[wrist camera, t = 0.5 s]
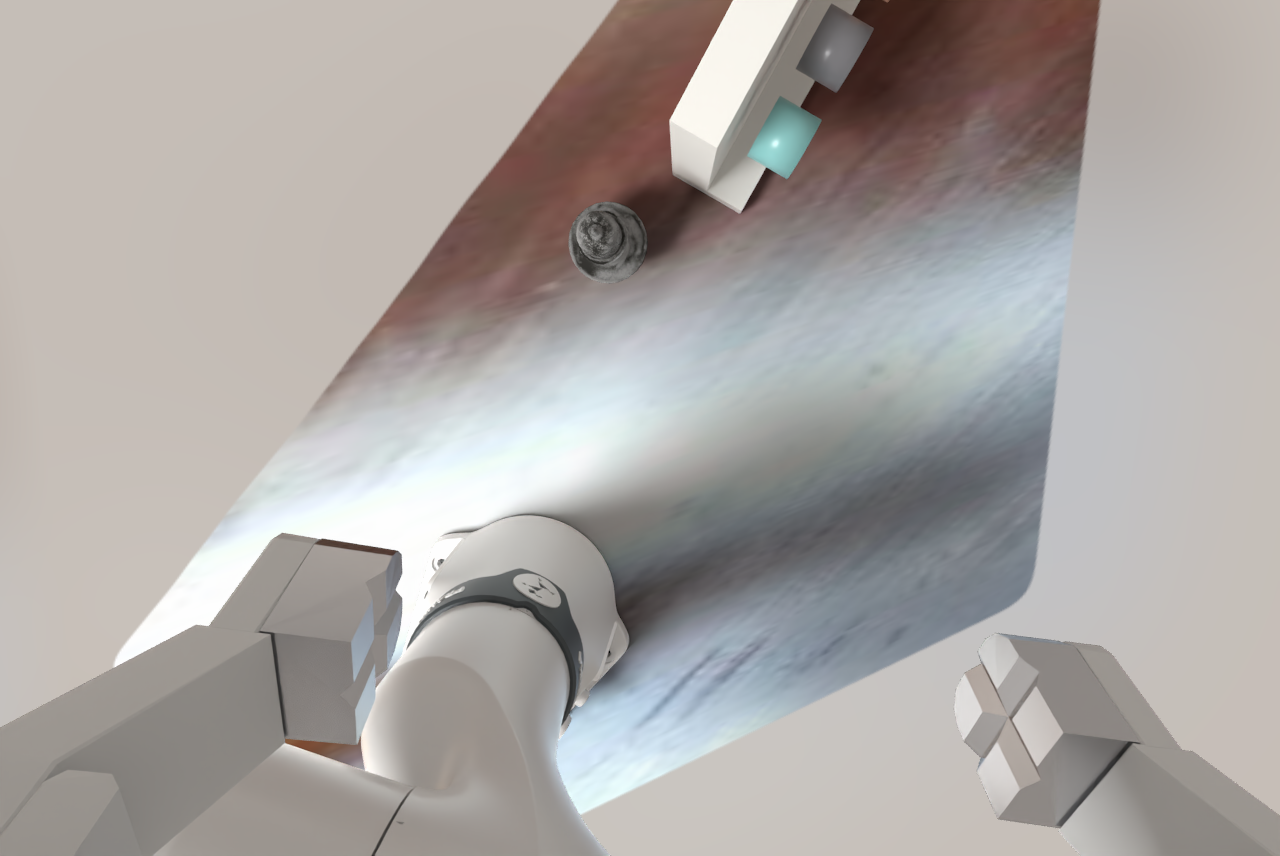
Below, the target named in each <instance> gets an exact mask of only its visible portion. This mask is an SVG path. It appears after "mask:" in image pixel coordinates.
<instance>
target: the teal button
mask: <svg viewBox="0 0 1280 856" xmlns="http://www.w3.org/2000/svg"><path fill="white" fill-rule="evenodd" d="M820 123H821V119H819V118H818V117H816V116H814V115H813V114H811V113H809V112H807V111H806V110H804V109H802V108H801V107H799V106H797V105H795V104H794V103H792V102H790V101H789V100H787V99H785V98H783V97H782V96H780V97H779V98H778V100H777V102H776V103H775V105H774V107H773V109H772V111H771V112H770V114H769V116H768V118H767V119H766V121H765V123H764V125H763V127H762V129H761V130H760V132H759V134H758V136H757V138H756V140H755V141H754V143H753V145H752V147H751V149H750V151H749V153H748V155H747V156H748V157H749V158H751V159H753V160H755V161H756V162H758V163H760V164H762V165H763V166H765V167H767V168H768V169H770V170H772V171H774V172H775V173H777V174H779V175H781V176H782V177H784V178H786V179H788V177H789V176H790V175H791V173H792V171H793V170H794V168H795V167H796V165H797V163H798V162H799V160H800V158H801V157H802V155H803V153H804V152H805V150H806V148H807V146H808V145H809V143H810V141H811V139H812V138H813V136H814V134H815V132H816V130H817V129H818V127H819V125H820Z"/></svg>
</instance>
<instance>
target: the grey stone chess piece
mask: <svg viewBox="0 0 1280 856" xmlns="http://www.w3.org/2000/svg"><path fill="white" fill-rule="evenodd" d="M647 242H648V241H647V235H646V230H645V228H644V225H643V223H642V221H641V220H640V218H639V217H638V216H637V215H636V213H635V212H633V211H632V210H631V209H629V208H628V207H627V206H624V205H622V204H619V203H615V202H601V203H596V204H594V205H592V206H590V207H588V208H586V209H585V210H584V211H583V212H582V213H580V214H579V215H578V217H577V218H576V220H575V221H574V223H573V225H572V228H571V231H570V233H569V250H570V255H571V257H572V259H573V262H574V264H575V265H576V266H577V268H578V269H579V270H580V272H581V273H583V274H584V275H585V276H587V277H588V278H590V279H592V280H595V281H597V282H601V283H614V282H620V281H622V280H624V279H626V278H629V277H630V276H631V275H632V274H633V273H635V272H636V271H637V270H638V268H639V267H640V265H641V264H642V263H643V260H644V258H645V255H646V252H647Z"/></svg>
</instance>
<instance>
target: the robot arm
mask: <svg viewBox="0 0 1280 856" xmlns="http://www.w3.org/2000/svg"><path fill="white" fill-rule="evenodd" d="M440 559H444V562H443V563H442V564H441V562H440ZM401 575H402V555H401V553H400V552H399V551H396V550H390V549H384V548H378V547H372V546H365V545H359V544H353V543H347V542H341V541H334V540H328V539H316V538H310V537H304V536H298V535H292V534H286V533H281V534H280V535H278V536H276V537H275V538H273V539H272V540H271V541H270V542H269V544H268V545H267V547H266V548H265V549H264V551H263V552H262V553H261V555H260V556H259V558H258V559H257V560H256V562H255V563H254V565H253V566H252V567H251V569H250V570H249V571H248V573H247V574H246V576H245V577H244V578H243V580H242V581H241V582H240V584H239V585H238V587H237V588H236V589H235V591H234V592H233V593H232V595H231V596H230V598H229V599H228V600H227V602H226V603H225V605H224V606H223V607H222V609H221V610H220V611H219V613H218V614H217V616H216V617H215V618H214V620H213V621H212V622H211V624H210V625H209V626H202V625H195V626H193V627H191V628H189V629H187V630H185V631H183V632H181V633H179V634H177V635H176V636H174V637H172V638H170V639H168V640H166V641H164V642H162V643H160V644H158V645H157V646H155V647H153V648H151V649H149V650H147V651H145V652H143V653H141V654H139V655H137V656H136V657H134V658H132V659H130V660H128V661H126V662H124V663H122V664H120V665H118V666H117V667H115V668H113V669H111V670H109V671H107V672H105V673H103V674H101V675H99V676H97V677H96V678H94V679H92V680H90V681H88V682H86V683H84V684H82V685H80V686H78V687H77V688H75V689H73V690H71V691H69V692H67V693H65V694H63V695H61V696H59V697H58V698H56V699H54V700H52V701H50V702H48V703H46V704H44V705H42V706H40V707H39V708H37V709H35V710H33V711H31V712H29V713H27V714H25V715H23V716H21V717H20V718H17V719H16V720H14V721H12V722H10V723H8V724H6V725H4V726H2V727H0V856H611V855H610V854H609V853H608V852H607V851H606V849H605V848H604V847H603V846H602V845H601V844H600V843H599V842H598V840H597V839H596V838H595V836H594V835H593V833H592V832H591V831H590V829H589V828H588V827H587V825H586V824H585V822H584V820H583V819H582V817H581V816H580V814H579V813H578V811H577V809H576V807H575V806H574V804H573V802H572V800H571V798H570V796H569V794H568V792H567V790H566V788H565V786H564V783H563V781H562V779H561V776H560V773H559V770H558V767H557V762H556V754H557V747H558V740H559V739H560V738H561V737H562V735H563V734H564V733H565V731H566V730H567V728H568V726H569V724H570V722H571V719H572V718H571V717H570V715H569V713H570V711H571V710H572V709H573V708H574V707H575V706H576V705H577V706H579V707H581V706H582V705H583V704H584V703H585V702H586V700H587V699H588V697H589V695H590V692H589V691H590V690H591V689H592V688H593V687H594V685H595V684H596V683H597V682H598V681H599V680H600V679H601V678H602V677H603V676H604V675H605V674H606V673H607V671H608V670H609V669H610V668H611V667H612V666H613V665H614V664H615V663H616V662H617V661H618V660H619V659H620V658H621V656H622V655H623V654H624V653H625V652H626V650H627V647H628V645H629V635H628V632H627V630H626V628H625V626H624V624H623V622H622V620H621V618H620V617H619V615H618V613H617V609H616V604H615V592H614V584H613V580H612V576H611V573H610V571H609V568H608V566H607V564H606V562H605V560H604V558H603V557H602V555H601V553H600V552H599V551H598V549H597V548H596V547H595V546H594V545H593V544H592V542H591V541H590V540H588V539H587V538H586V537H585V536H584V535H583V534H581V533H580V532H579V531H577V530H576V529H574V528H572V527H571V526H569V525H567V524H565V523H562V522H560V521H557V520H554V519H551V518H547V517H542V516H532V515H522V516H514V517H509V518H505V519H501V520H498V521H496V522H494V523H491V524H489V525H487V526H485V527H483V528H481V529H479V530H477V531H474V532H470V533H452V534H446V535H443V536H441V537H440V538H438V539H437V541H436V542H435V544H434V545H433V547H432V550H431V554H430V558H429V561H428V565H427V568H426V572H425V575H424V579H423V582H422V586H421V589H420V593H419V596H418V600H417V603H416V607H415V611H414V614H413V618H412V621H411V625H410V628H409V632H408V635H407V639H406V642H405V646H404V649H403V653H402V656H401V657H400V658H399V660H398V661H397V662H396V663H395V665H394V666H393V667H392V668H391V670H390V671H389V672H388V673H387V675H386V676H385V677H384V678H383V680H382V681H381V682H380V684H379V685H378V686H377V688H376V689H375V678H376V677H377V676H379V675H380V674H382V673H383V672H384V671H386V670H387V669H388V666H389V664H390V661H391V658H392V656H393V653H394V650H395V646H396V642H397V639H398V635H399V631H400V625H401V617H402V597H401V596H400V595H399V594H398V593H397V592H396V590H395V589H396V587H397V585H398V582H399V580H400V578H401ZM609 650H610V652H611V653H609V654H608V652H609ZM978 654H979V657H980V661H981V664H980V665H978V666H976V667H974V668H972V669H971V670H969V671H968V672H965V673H964V675H963V677H962V679H961V680H960V682H959V684H958V686H957V688H956V691H955V702H954V712H955V718H956V723H957V726H958V729H959V731H960V734H961V736H962V739H963V741H964V742H965V743H966V744H967V745H968V746H969V747H970V748H971V749H972V750H973V751H974V752H975V753H976V754H977V755H979V756H980V757H981V759H980V762H979V766H978V769H977V773H978V776H979V778H980V780H981V782H982V785H983V787H984V789H985V792H986V794H987V796H988V798H989V801H990V803H991V805H992V807H993V810H994V812H995V814H996V816H997V819H1000V820H1007V821H1014V822H1021V823H1027V824H1034V825H1041V826H1048V827H1055V828H1060V830H1059V831H1058V832H1059V833H1060V834H1061V835H1062V836H1063V837H1064V838H1065V839H1066V841H1068V843H1069V844H1070V845H1071V846H1072V847H1073V848H1074V849H1075V850H1076V852H1077V853H1078V854H1079V855H1080V856H1280V815H1278V814H1277V813H1276V812H1274V811H1273V810H1272V809H1270V808H1269V807H1268V806H1266V805H1265V804H1263V803H1262V802H1261V801H1259V800H1258V799H1257V798H1255V797H1254V796H1253V795H1251V794H1250V793H1248V792H1247V791H1246V790H1245V789H1243V788H1242V787H1240V786H1239V785H1238V784H1236V783H1235V782H1234V781H1232V780H1231V779H1229V778H1228V777H1227V776H1226V775H1224V774H1223V773H1222V772H1220V771H1219V770H1217V769H1216V768H1215V767H1213V766H1212V765H1211V764H1209V763H1208V762H1207V761H1205V760H1204V759H1203V758H1201V757H1200V756H1199V755H1197V754H1196V753H1194V752H1192V751H1186V750H1182V749H1181V748H1180V746H1179V745H1178V744H1177V742H1176V741H1175V740H1174V738H1173V737H1172V736H1171V734H1170V733H1169V731H1168V730H1167V729H1166V727H1165V726H1164V725H1163V723H1162V722H1161V720H1160V719H1159V718H1158V716H1157V715H1156V714H1155V712H1154V711H1153V709H1152V708H1151V707H1150V706H1149V704H1148V703H1147V701H1146V700H1145V699H1144V697H1143V696H1142V694H1141V693H1140V692H1139V691H1138V689H1137V688H1136V686H1135V685H1134V684H1133V682H1132V681H1131V679H1130V678H1129V677H1128V675H1127V674H1126V673H1125V671H1124V670H1123V668H1122V667H1121V666H1120V664H1119V663H1118V662H1117V660H1116V659H1115V657H1114V656H1113V655H1112V654H1111V653H1110V652H1108V651H1107V650H1106V649H1104V648H1103V647H1101V646H1097V645H1089V644H1081V643H1073V642H1060V641H1054V640H1047V639H1039V638H1031V637H1023V636H1016V635H1007V634H1000V633H995V634H993V635H991V636H989V637H988V638H987V639H985V641H984V642H983V644H982V645H981V647H980V649H979V650H978ZM360 736H361V748H362V755H363V762H364V767H365V770H362V769H359V768H356V767H353V766H350V765H347V764H344V763H342V762H339V761H336V760H333V759H330V758H327V757H324V756H321V755H318V754H315V753H312V752H309V751H306V750H304V749H301V748H298V747H295V746H292V745H289V744H286V743H285V738H286V739H297V740H308V741H320V742H331V743H342V744H354V745H357V743H358V741H359V738H360Z"/></svg>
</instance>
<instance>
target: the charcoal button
mask: <svg viewBox="0 0 1280 856" xmlns="http://www.w3.org/2000/svg"><path fill="white" fill-rule="evenodd" d="M873 30H874V28H873V27H871V26H869V25H868V24H866V23H864V22H863V21H861V20H859V19H857V18H856V17H854V16H852V15H851V14H849V13H847V12H846V11H844V10H842V9H841V8H839V7H837V6H835V5H834V4H832V3H831V5H830V6H829V8H828V10H827V12H826V13H825V15H824V17H823V19H822V21H821V22H820V24H819V26H818V28H817V30H816V31H815V33H814V35H813V37H812V39H811V40H810V42H809V44H808V46H807V48H806V50H805V52H804V53H803V55H802V57H801V59H800V61H799V63H798V65H797V67H796V70H798V71H800V72H801V73H803V74H805V75H807V76H808V77H810V78H812V79H813V80H815V81H817V82H818V83H820V84H822V85H824V86H825V87H827V88H829V89H830V90H832V91H834V92H836V93H837V91H838V90H839V88H840V87H841V85H842V84H843V82H844V80H845V79H846V77H847V76H848V74H849V72H850V71H851V69H852V67H853V66H854V64H855V62H856V61H857V59H858V57H859V55H860V54H861V52H862V50H863V48H864V47H865V45H866V43H867V41H868V39H869V38H870V36H871V34H872V32H873Z"/></svg>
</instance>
